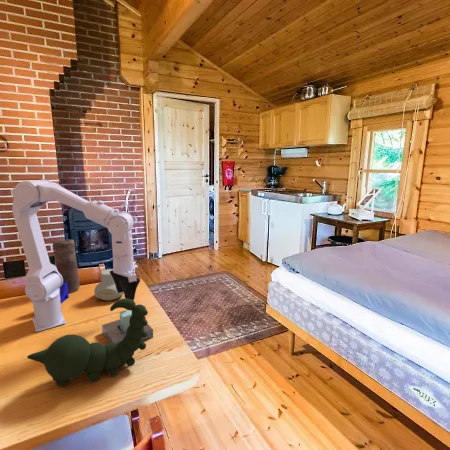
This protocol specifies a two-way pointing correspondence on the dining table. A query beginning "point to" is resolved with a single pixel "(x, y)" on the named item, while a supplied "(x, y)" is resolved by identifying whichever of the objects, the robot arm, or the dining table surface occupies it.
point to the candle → (67, 263)
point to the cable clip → (64, 292)
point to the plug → (125, 320)
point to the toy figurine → (94, 350)
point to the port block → (115, 335)
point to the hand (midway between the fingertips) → (125, 296)
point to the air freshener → (107, 287)
